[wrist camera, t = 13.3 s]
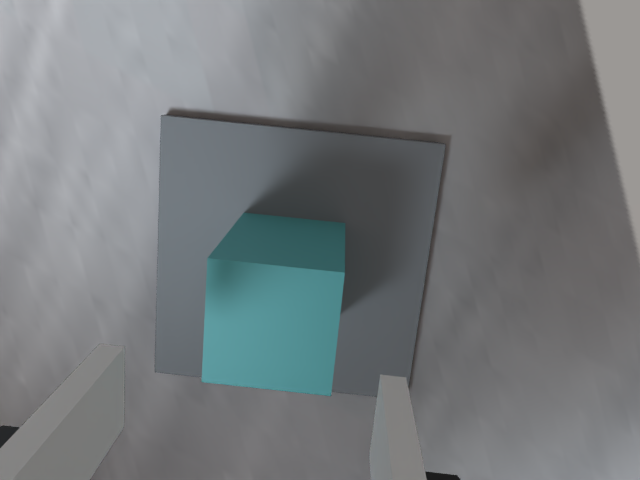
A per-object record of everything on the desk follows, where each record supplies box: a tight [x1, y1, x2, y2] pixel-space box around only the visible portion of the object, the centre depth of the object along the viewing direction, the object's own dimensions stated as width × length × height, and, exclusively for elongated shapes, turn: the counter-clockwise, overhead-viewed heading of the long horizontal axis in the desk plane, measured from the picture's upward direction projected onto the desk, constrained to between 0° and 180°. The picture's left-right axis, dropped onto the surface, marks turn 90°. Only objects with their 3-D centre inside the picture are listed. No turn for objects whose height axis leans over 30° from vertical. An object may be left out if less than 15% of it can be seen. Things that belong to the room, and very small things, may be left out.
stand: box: [155, 115, 446, 397], centre depth 28 cm, size 14×14×7 cm
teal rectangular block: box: [202, 213, 345, 396], centre depth 26 cm, size 5×5×8 cm
